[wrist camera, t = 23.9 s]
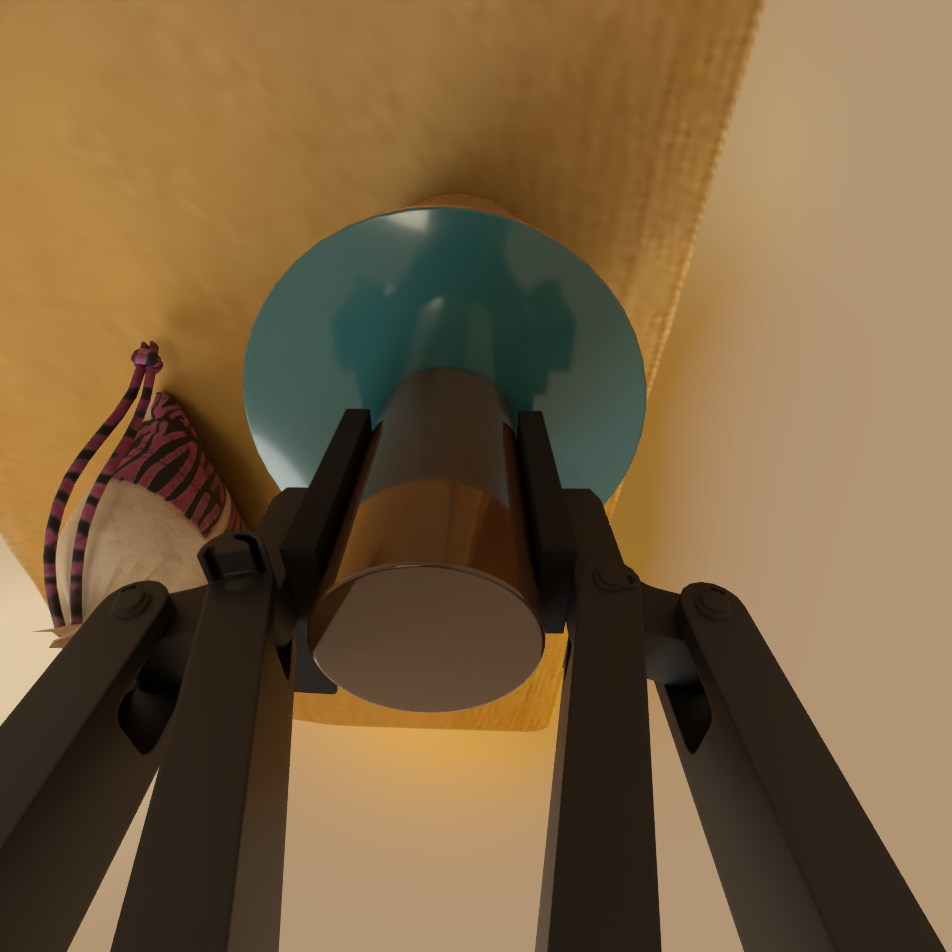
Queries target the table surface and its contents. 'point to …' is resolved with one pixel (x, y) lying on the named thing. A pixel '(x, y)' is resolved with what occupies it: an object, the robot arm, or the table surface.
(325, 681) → the smartphone
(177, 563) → the pouch
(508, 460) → the lid
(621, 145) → the table surface
